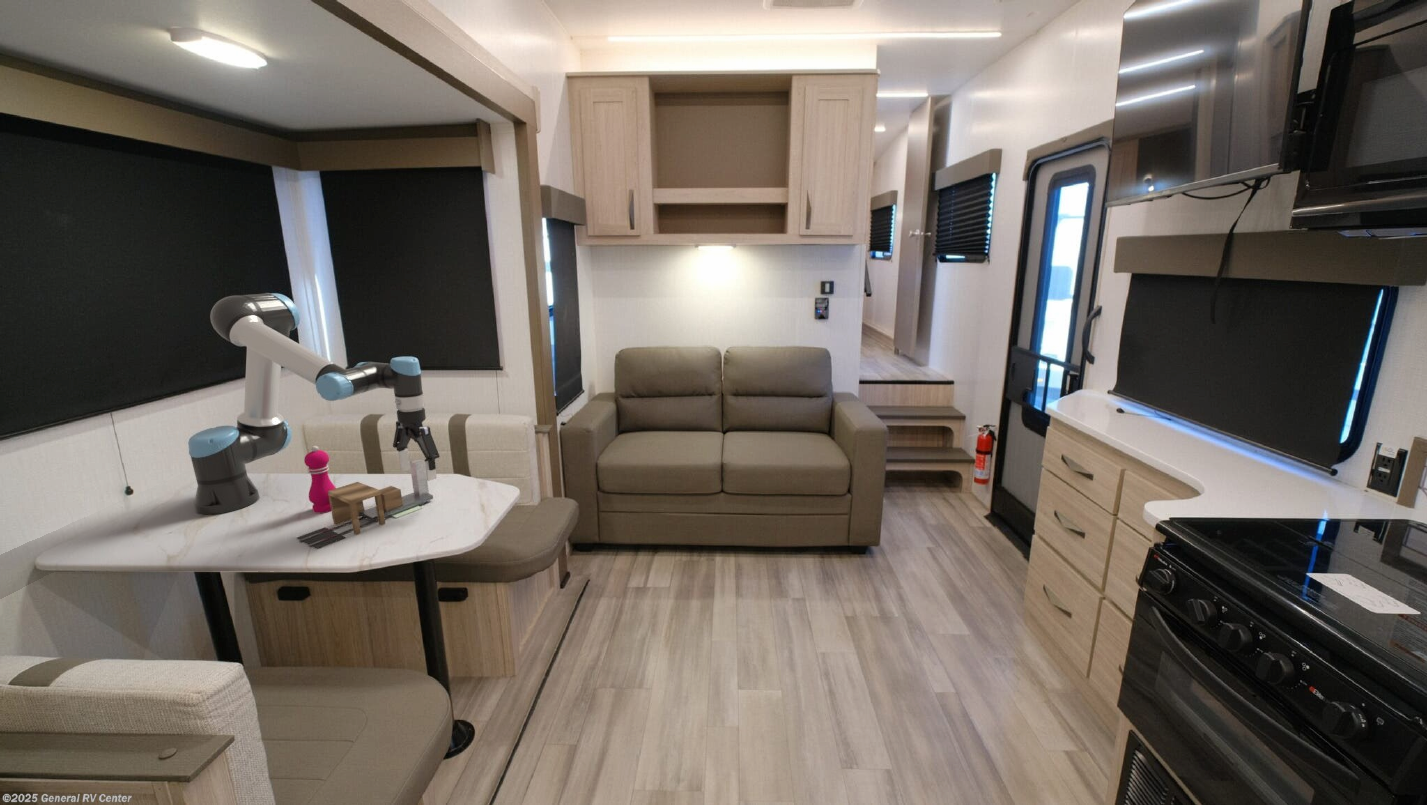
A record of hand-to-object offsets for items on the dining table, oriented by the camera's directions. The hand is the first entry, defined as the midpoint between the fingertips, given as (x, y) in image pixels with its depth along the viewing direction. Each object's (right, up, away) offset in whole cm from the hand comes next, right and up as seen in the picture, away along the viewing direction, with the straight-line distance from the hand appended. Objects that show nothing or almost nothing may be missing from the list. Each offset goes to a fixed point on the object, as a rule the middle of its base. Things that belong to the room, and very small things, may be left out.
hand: (418, 474), depth 176 cm
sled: (-4, -9, -5) cm, 11 cm away
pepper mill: (-26, -10, -4) cm, 28 cm away
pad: (-4, -10, -4) cm, 11 cm away
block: (-5, -8, -7) cm, 12 cm away
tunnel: (-10, -12, -14) cm, 21 cm away
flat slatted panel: (-15, -14, -22) cm, 30 cm away
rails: (-9, -12, -12) cm, 19 cm away
